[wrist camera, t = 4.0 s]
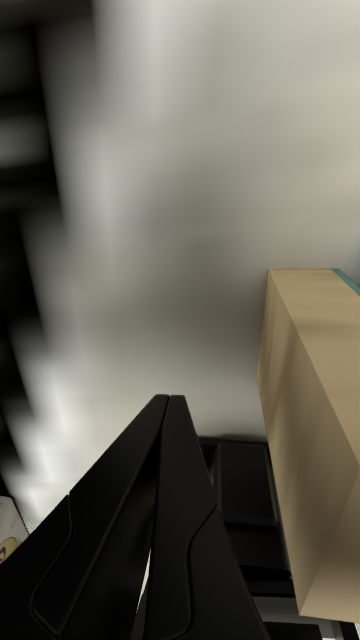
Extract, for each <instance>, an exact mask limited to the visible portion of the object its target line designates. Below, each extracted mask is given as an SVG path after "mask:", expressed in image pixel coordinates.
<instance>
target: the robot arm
mask: <svg viewBox="0 0 360 640" xmlns="http://www.w3.org/2000/svg"><path fill="white" fill-rule="evenodd" d="M150 549H151V552H150ZM149 553H150V564H149V576H148V579H147V582H146V586H145V589H144V592H143V594H142V596H141V599H140V603H139V598H140V594H141V589H142V585H143V580H144V576H145V571H146V567H147V562H148V558H149ZM138 603H139V606H138ZM137 607H138V609H137ZM136 612H137V613H136ZM322 638H333V639H335V640H359V637H358V634H357V630H356V627H355V624H354V623H353V622H346V621H339V620H331V619H324V618H317V617H310V616H302V615H299V611H298V606H297V600H296V594H295V589H294V583H293V578H292V572H291V567H290V561H289V555H288V550H287V544H286V539H285V533H284V527H283V522H282V516H281V511H280V505H279V499H278V494H277V488H276V483H275V477H274V471H273V466H272V460H271V455H270V449H269V443H258V442H243V441H227V440H212V439H198V438H197V434H196V431H195V428H194V425H193V421H192V418H191V415H190V412H189V408H188V405H187V402H186V399H185V396H184V395H171V396H169V395H166V394H157V395H155V396H154V397H153V398H152V399H151V400H150V401H149V403H148V404H147V405H146V406H145V407H144V408H143V409H142V410H141V412H140V413H139V414H138V415H137V416H136V417H135V418H134V419H133V421H132V422H131V423H130V424H129V425H128V426H127V427H126V428H125V430H124V431H123V432H122V433H121V434H120V435H119V436H118V438H117V439H116V440H115V441H114V442H113V443H112V444H111V445H110V447H109V448H108V449H107V450H106V451H105V452H104V453H103V454H102V456H101V457H100V458H99V459H98V460H97V461H96V462H95V463H94V465H93V466H92V467H91V468H90V469H89V470H88V471H87V473H86V474H85V475H84V476H83V477H82V478H81V479H80V480H79V482H78V483H77V484H76V485H75V486H74V487H73V488H72V489H71V491H70V492H69V495H68V494H67V495H66V496H65V497H64V498H63V499H62V501H61V502H60V503H59V504H58V505H57V506H56V507H55V508H54V510H53V511H52V512H51V513H50V514H49V515H48V516H47V517H46V518H45V519H44V520H43V521H42V522H41V524H40V525H39V526H38V527H37V528H36V529H35V530H34V531H33V532H32V533H31V534H30V535H29V536H28V537H27V538H26V539H25V540H24V541H23V542H22V543H21V544H20V545H19V546H18V547H17V548H16V549H15V550H14V551H13V552H12V553H11V554H10V555H9V556H8V557H7V558H6V559H5V560H4V561H3V562H2V563H1V564H0V640H322Z"/></svg>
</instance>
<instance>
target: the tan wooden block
mask: <svg viewBox="0 0 360 640" xmlns="http://www.w3.org/2000/svg"><path fill="white" fill-rule="evenodd" d="M257 382H258V387H259V393H260V399H261V404H262V410H263V415H264V421H265V427H266V432H267V438H268V443H269V449H270V455H271V460H272V466H273V471H274V477H275V483H276V488H277V494H278V499H279V505H280V511H281V516H282V522H283V527H284V533H285V539H286V544H287V550H288V555H289V561H290V567H291V572H292V578H293V583H294V589H295V594H296V600H297V606H298V611H299V615H302V616H310V617H317V618H324V619H331V620H339V621H346V622H353V623H360V288H359V287H358V286H357V285H356V284H355V283H354V282H353V281H352V280H350V279H349V278H348V277H347V276H346V275H345V274H344V273H343V272H342V271H340V270H339V269H268V279H267V288H266V298H265V307H264V316H263V326H262V335H261V344H260V354H259V363H258V372H257Z"/></svg>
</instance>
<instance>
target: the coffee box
mask: <svg viewBox="0 0 360 640" xmlns="http://www.w3.org/2000/svg"><path fill="white" fill-rule="evenodd" d="M28 536H29V535H28V533H27V531H26V529H25V527H24V524H23V522H22V520H21V518H20V516H19V514H18V512H17V509H16V507H15V505H14V503H13V501H12V499H11V498H10V497H5V496H0V564H1V563H2V562H3V561H4V560H5V559H6V558H7V557H8V556H9V555H10V554H11V553H12V552H13V551H14V550H15V549H16V548H17V547H18V546H19V545H20V544H21V543H22V542H23V541H24V540H25V539H26V538H27V537H28Z"/></svg>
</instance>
